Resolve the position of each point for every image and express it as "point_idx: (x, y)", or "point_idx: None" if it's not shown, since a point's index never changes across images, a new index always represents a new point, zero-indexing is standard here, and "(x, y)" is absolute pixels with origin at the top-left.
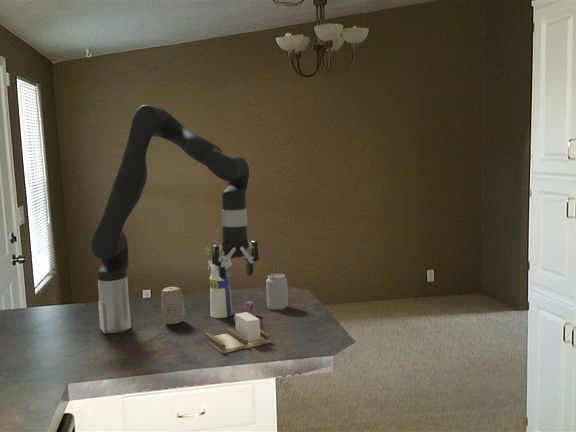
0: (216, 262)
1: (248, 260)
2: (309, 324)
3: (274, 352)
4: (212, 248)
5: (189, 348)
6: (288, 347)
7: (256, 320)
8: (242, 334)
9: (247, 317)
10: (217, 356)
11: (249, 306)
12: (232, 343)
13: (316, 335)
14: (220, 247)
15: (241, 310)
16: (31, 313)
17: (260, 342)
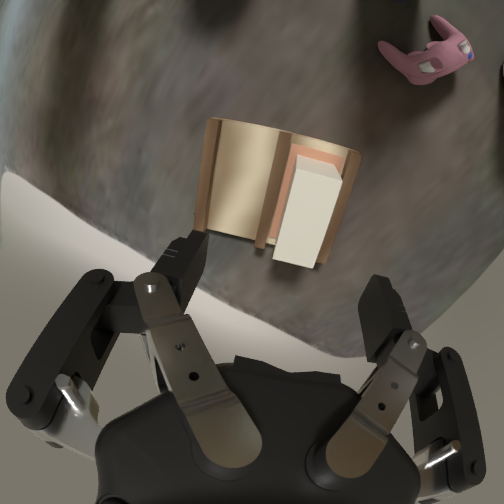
0: (99, 335)
1: (364, 384)
2: (467, 233)
3: (286, 294)
4: (18, 376)
5: (159, 138)
6: (326, 296)
7: (302, 264)
8: (285, 201)
9: (300, 230)
10: (185, 228)
11: (436, 76)
12: (241, 209)
13: (413, 290)
14: (85, 439)
15: (406, 63)
16: None
17: None
